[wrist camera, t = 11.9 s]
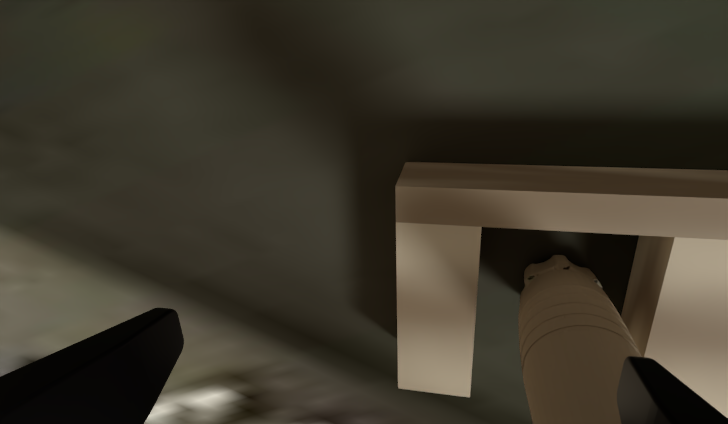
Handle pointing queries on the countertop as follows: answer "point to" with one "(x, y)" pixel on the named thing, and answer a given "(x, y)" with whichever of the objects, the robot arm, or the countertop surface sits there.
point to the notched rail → (573, 214)
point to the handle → (570, 345)
